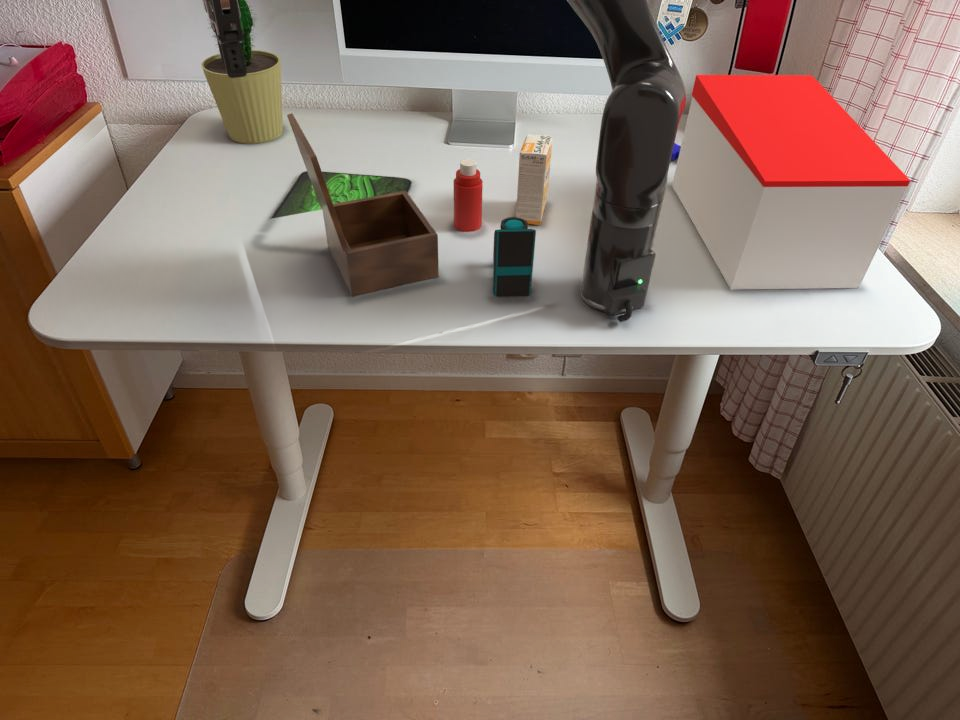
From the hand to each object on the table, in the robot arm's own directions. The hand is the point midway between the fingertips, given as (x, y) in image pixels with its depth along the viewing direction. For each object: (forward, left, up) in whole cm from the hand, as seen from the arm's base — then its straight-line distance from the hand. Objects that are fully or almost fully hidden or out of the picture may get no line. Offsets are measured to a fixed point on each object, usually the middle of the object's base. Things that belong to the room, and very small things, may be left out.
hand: (234, 69), depth 81 cm
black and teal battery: (-12, -33, -32) cm, 48 cm away
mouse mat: (+20, -14, -33) cm, 40 cm away
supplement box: (+6, -46, -32) cm, 57 cm away
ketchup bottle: (+6, -33, -32) cm, 47 cm away
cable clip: (+16, -85, -32) cm, 92 cm away
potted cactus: (+59, -6, -32) cm, 68 cm away
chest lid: (0, -8, -16) cm, 18 cm away
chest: (0, -16, -32) cm, 36 cm away
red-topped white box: (-13, -80, -32) cm, 87 cm away
